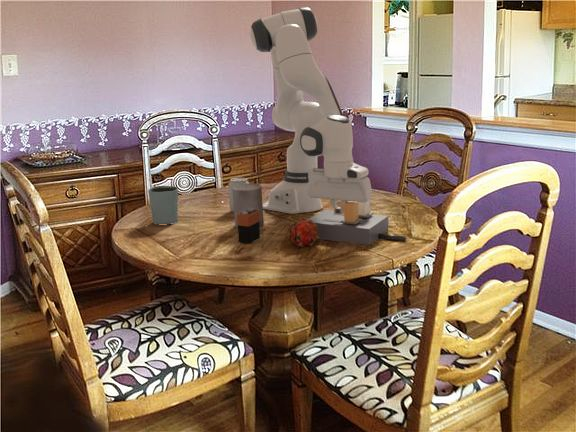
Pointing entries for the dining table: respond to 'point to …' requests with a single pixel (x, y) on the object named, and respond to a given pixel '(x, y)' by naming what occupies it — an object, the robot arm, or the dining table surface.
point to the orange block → (351, 213)
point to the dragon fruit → (304, 233)
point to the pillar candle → (248, 199)
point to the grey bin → (164, 204)
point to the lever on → (364, 209)
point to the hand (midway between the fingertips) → (339, 213)
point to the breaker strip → (352, 228)
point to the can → (233, 182)
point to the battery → (248, 226)
